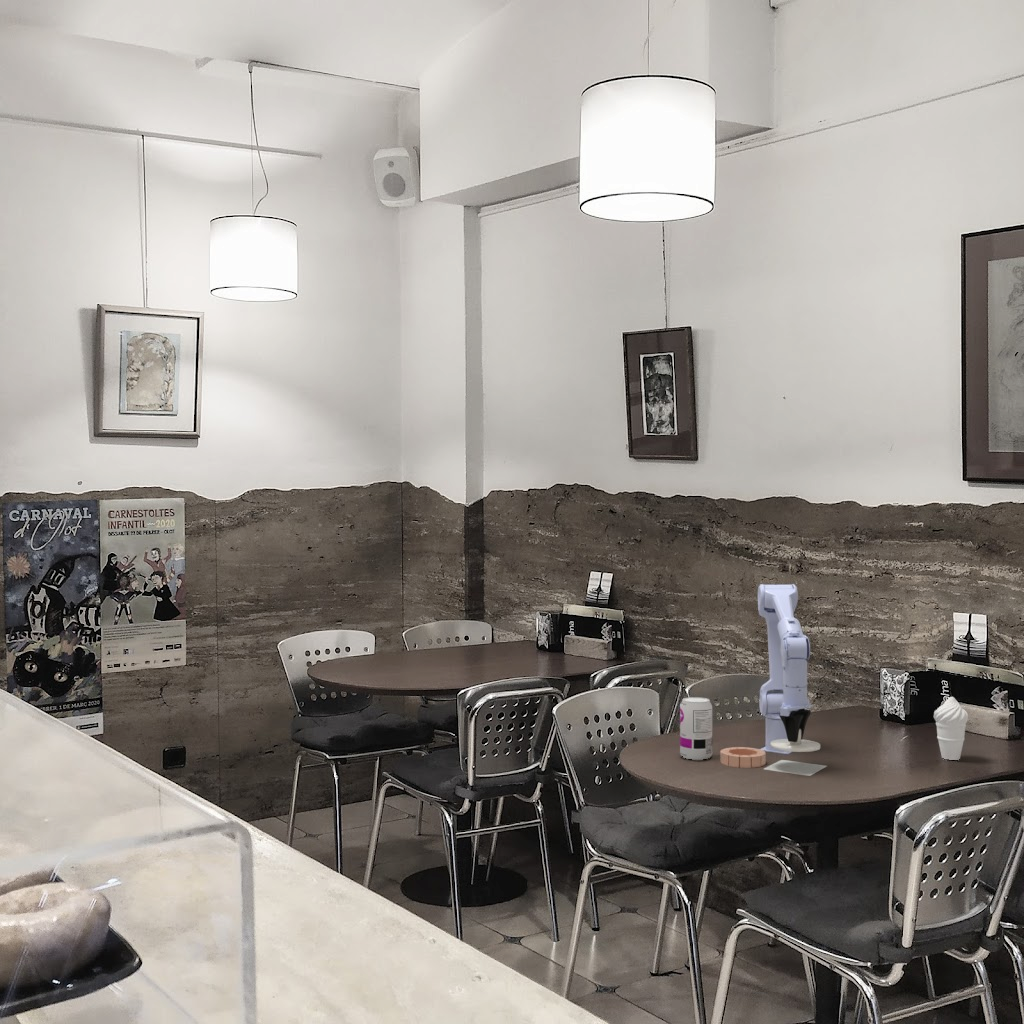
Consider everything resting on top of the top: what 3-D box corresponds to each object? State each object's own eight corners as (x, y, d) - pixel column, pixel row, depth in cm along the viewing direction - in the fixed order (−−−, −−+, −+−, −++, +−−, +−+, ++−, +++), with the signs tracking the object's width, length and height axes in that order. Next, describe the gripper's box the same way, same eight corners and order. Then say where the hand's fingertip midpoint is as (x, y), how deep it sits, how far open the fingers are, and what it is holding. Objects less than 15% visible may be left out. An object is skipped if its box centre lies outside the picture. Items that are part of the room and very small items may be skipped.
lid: (781, 739, 295) (781, 722, 295) (827, 745, 288) (827, 727, 288) (762, 748, 285) (762, 730, 285) (809, 754, 278) (809, 735, 278)
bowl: (731, 756, 300) (731, 745, 300) (772, 762, 294) (772, 750, 294) (713, 765, 291) (713, 753, 291) (754, 771, 285) (754, 759, 285)
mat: (781, 761, 295) (781, 759, 295) (827, 767, 288) (827, 765, 288) (762, 770, 285) (762, 769, 285) (809, 777, 279) (809, 775, 278)
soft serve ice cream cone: (960, 764, 291) (960, 701, 290) (927, 759, 296) (928, 697, 296) (973, 758, 297) (973, 696, 296) (941, 753, 302) (941, 692, 302)
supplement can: (677, 759, 298) (676, 701, 298) (684, 752, 305) (684, 696, 305) (708, 762, 295) (708, 703, 295) (715, 755, 302) (714, 697, 302)
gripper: (799, 691, 278) (799, 747, 279) (821, 682, 290) (821, 736, 290) (772, 688, 282) (772, 744, 283) (794, 680, 294) (794, 733, 295)
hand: (795, 740), depth 287 cm, fingers closed on lid, 3 cm apart
